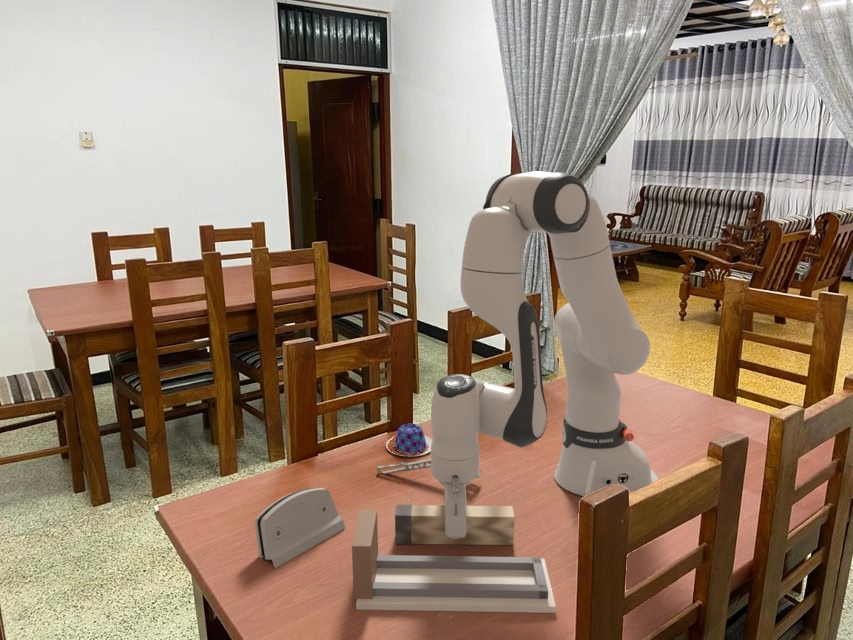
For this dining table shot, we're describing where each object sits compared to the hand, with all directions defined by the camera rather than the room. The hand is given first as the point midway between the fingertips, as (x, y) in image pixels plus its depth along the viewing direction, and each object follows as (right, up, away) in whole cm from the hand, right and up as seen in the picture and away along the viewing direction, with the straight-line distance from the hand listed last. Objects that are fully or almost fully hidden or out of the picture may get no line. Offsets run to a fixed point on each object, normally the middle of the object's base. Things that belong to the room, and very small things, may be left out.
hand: (454, 528), depth 120 cm
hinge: (-29, -2, +1) cm, 29 cm away
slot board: (0, -6, -12) cm, 13 cm away
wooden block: (0, -2, +1) cm, 2 cm away
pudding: (-9, +8, +36) cm, 38 cm away
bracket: (-5, +4, +22) cm, 23 cm away
